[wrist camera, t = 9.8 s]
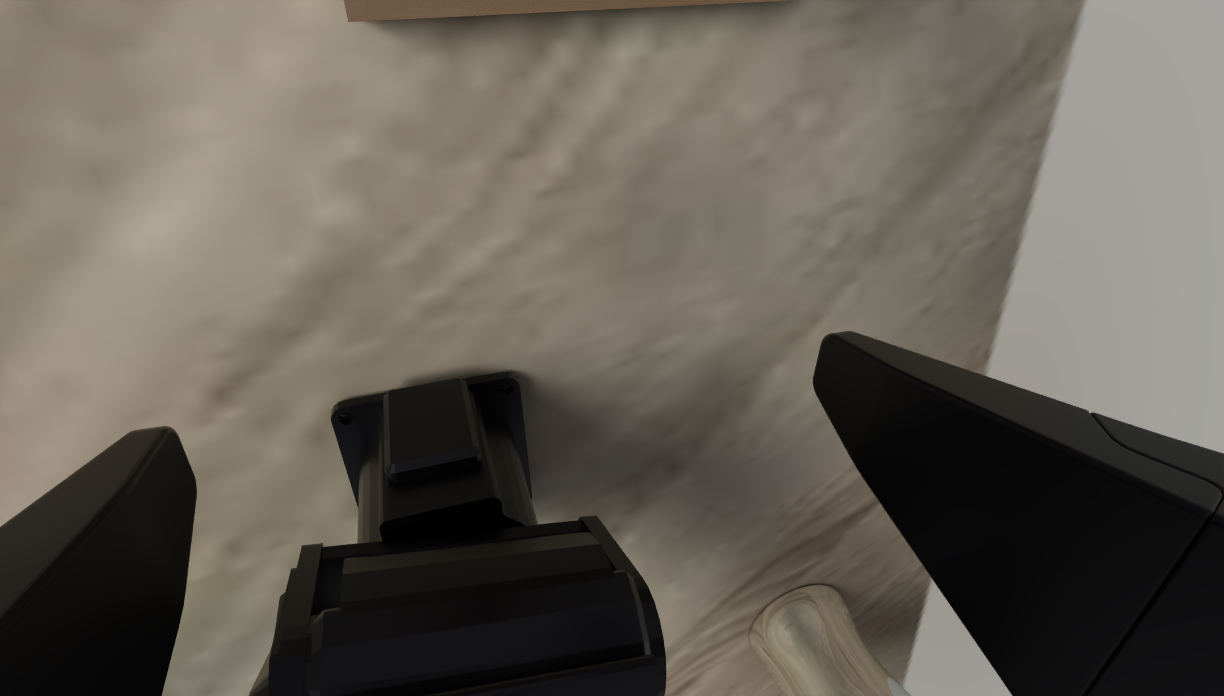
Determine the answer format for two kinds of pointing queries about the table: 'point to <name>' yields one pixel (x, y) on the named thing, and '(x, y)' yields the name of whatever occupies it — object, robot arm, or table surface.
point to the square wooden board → (497, 7)
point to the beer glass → (818, 647)
